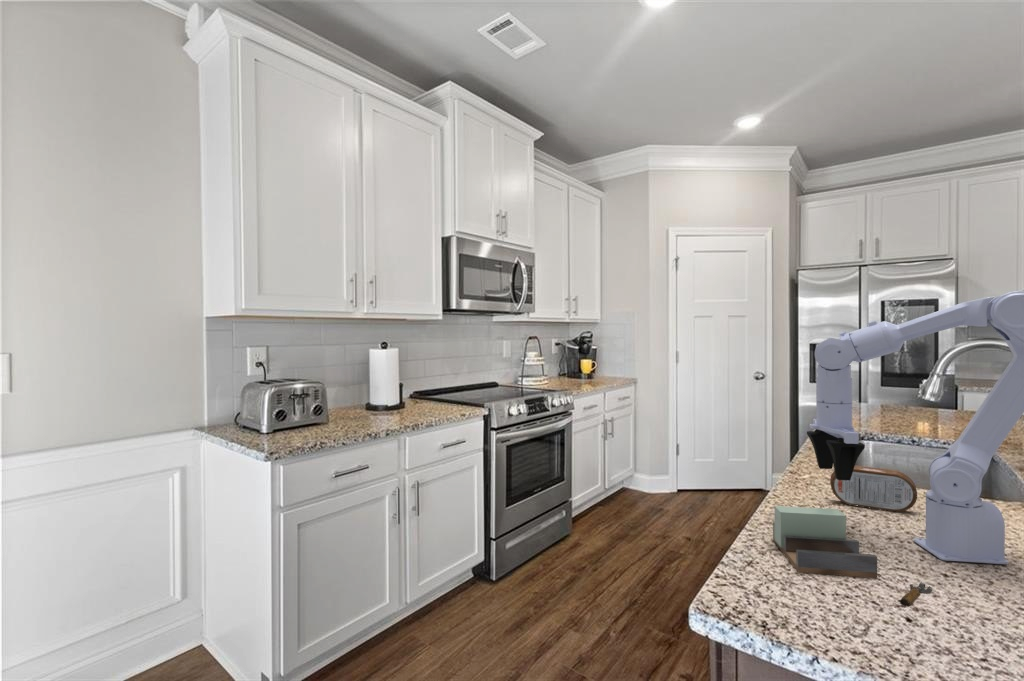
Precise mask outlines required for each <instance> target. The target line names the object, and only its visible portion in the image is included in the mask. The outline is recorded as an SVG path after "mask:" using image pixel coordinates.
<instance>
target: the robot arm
mask: <svg viewBox="0 0 1024 681" xmlns="http://www.w3.org/2000/svg"><path fill="white" fill-rule="evenodd" d="M867 324H868V325H867V326H865V327H862V328H859V329H857V330H853V331H850V332H846V331H842V332H839V334H838V335H839V338H838V337H828V338H826V339H824V340H823V341H821V342H819V344H818V345H817V346H816V347H815V349H814V359H815V361H816V362H817V363H818V364H817V367H816V374H817V375H816V379H815V380H816V382H815V385H816V388H815V392H816V396H815V400H816V401H815V402H816V409H815V411H816V413H815V414H816V418H812V423H810V424H809V428H810V429H812V431H811V430H810V431H809V430H808V431H806V435H807V436H808V438H809V440H810V442H811V445H812V447H813V450H814V454H815V458H816V462H817V466H818V468H819V469H820V470H821V469H822V470H833V472H835V476H836V479H837V480H850V479H851V477H852V473H853V470H854V466H855V465H856V464H857V461H858V459H859V457H860V455H861V453H863V451H864V450H865V448H866V446H865V443H862V442H859V441H860V440H859V435H860V434H859V432H857V431H856V430H855V427H854V426H853V378H852V362H857V363H863V362H866V361H869V360H872V359H873V360H874V359H876V358H879V357H883V356H886V355H890V354H894V353H897V352H899V351H900V350H901V348H902V347H903V345H904V343H905V342H906V341H910V340H913V339H917V338H920V337H924V336H927V335H931V334H934V333H937V332H938V333H939V332H941V331H947V330H949V329H953V328H956V327H960V326H966V327H968V326H969V327H988V325H989V326H990V327H991V328H992V329H994V330H995V331H996V332H997V333H998V334H1000V336H1002V337H1003V339H1004V341H1005V343H1006V345H1007V347H1008V348H1009V350H1010V352H1011V354H1012V355H1013V356H1012V359H1011V360H1010V362H1009V363H1008V365H1007V366H1006V368H1005V369H1004V370H1003V372H1002V374H1001V375H1000V376H999V378H998V379H997V380H996V382H995V384H994V385H993V387H992V388H991V390H990V391H989V393H988V394H987V396H986V397H985V398H984V400H983V401H982V403H981V404H980V406H978V408H977V410H976V412H975V413H974V415H973V416H972V417H971V419H970V420H969V422H968V423H967V425H966V427H965V428H964V430H963V431H962V432H961V434H960V435H959V437H958V438H957V439H956V440H955V441H954V442H953V443H952V444H951V445H950V447H949V448H948V449H947V451H945V452H944V453H943V454H942V455H939V456H937V457H935V458H934V459H933V460H932V461H931V462H930V464H929V466H928V475H929V485H930V489H929V490H926V491H925V538H920V537H919V538H918V537H917V538H916V537H914V538H913V541H912V542H915V543H916V544H917V545H919V546H920V547H922V548H923V549H925V550H926V551H927V552H929V553H930V554H931V555H934V556H935V557H936V558H938V559H940V560H941V561H949V562H965V563H966V562H967V563H979V564H981V563H982V564H993V565H994V564H995V565H1009V561H1008V560H1007V559H1006V558H1005V554H1006V552H1005V551H1006V549H1005V548H1006V547H1005V546H1006V545H1005V544H1006V543H1005V542H1006V541H1005V538H1006V536H1005V535H1006V533H1005V532H1006V531H1005V530H1006V524H1005V520H1004V516H1003V513H1002V512H1001V510H1000V508H998V506H996V504H994V503H993V502H990V501H984V500H983V499H982V498H981V497H980V496H981V493H982V480H983V478H984V476H985V475H986V473H987V472H988V470H989V467H990V464H991V461H992V458H993V457H994V455H995V454H996V452H997V451H998V450H999V448H1000V446H1001V445H1002V444H1003V442H1004V441H1005V440H1006V438H1007V437H1008V435H1009V434H1010V433H1011V431H1012V430H1013V429H1014V427H1015V425H1016V424H1017V423H1018V422H1019V420H1020V418H1021V417H1022V416H1023V415H1024V290H1015V291H1009V292H1007V293H1004V294H1002V295H999V296H997V297H996V295H994V296H988V297H982V298H977V299H974V300H968V301H963V302H960V303H958V304H954V305H952V306H949V307H945V308H943V309H940V310H938V311H935V312H931V313H928V314H926V315H923V316H920V317H916V318H913V319H911V320H908V321H905V322H901V323H899V324H894V323H892V322H888V321H886V320H884V321H881V322H878V321H877V320H873V321H870V322H868V323H867Z"/></svg>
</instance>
